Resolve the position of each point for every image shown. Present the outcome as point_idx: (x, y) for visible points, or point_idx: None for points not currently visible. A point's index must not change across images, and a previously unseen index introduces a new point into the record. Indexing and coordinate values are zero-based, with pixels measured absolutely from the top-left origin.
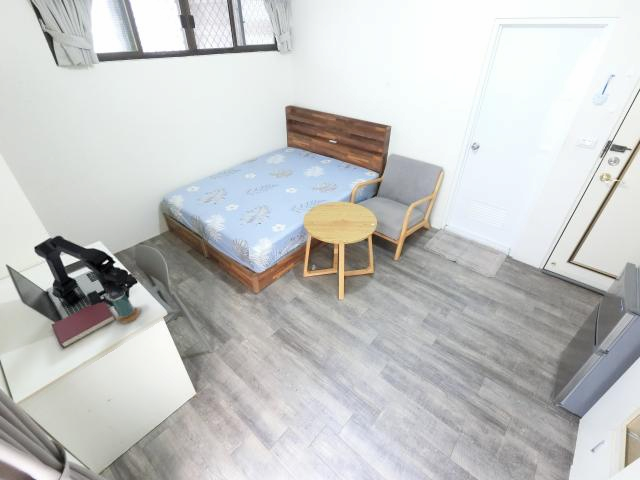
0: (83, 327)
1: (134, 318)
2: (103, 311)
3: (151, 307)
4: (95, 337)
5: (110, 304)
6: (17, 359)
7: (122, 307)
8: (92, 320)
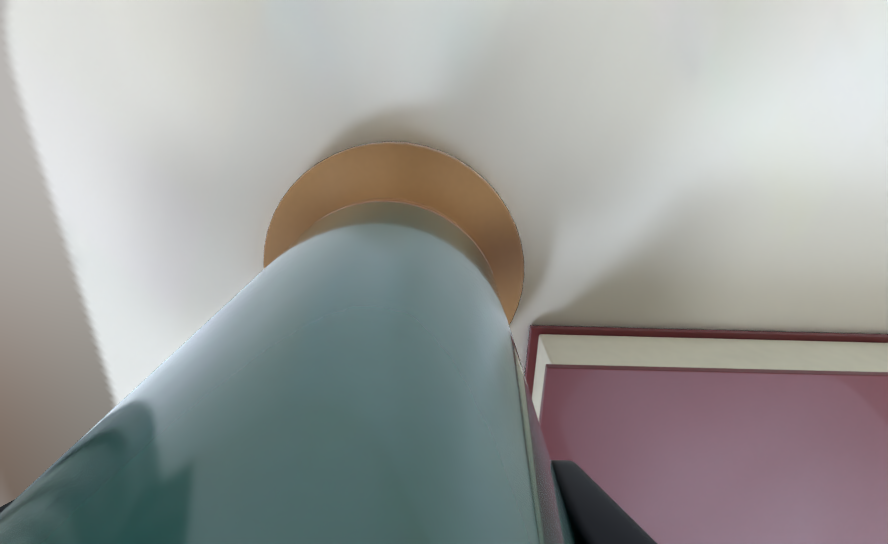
0: (880, 438)
1: (358, 146)
2: None
3: (111, 180)
4: (817, 229)
5: (625, 541)
6: None
7: (386, 273)
8: (753, 469)
